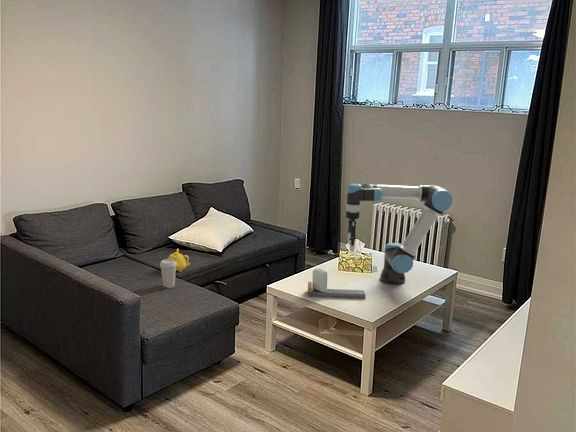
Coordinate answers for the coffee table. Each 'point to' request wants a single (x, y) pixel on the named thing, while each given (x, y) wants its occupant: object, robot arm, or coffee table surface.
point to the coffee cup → (168, 272)
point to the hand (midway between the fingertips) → (350, 247)
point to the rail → (335, 293)
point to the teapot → (179, 260)
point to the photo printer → (319, 280)
